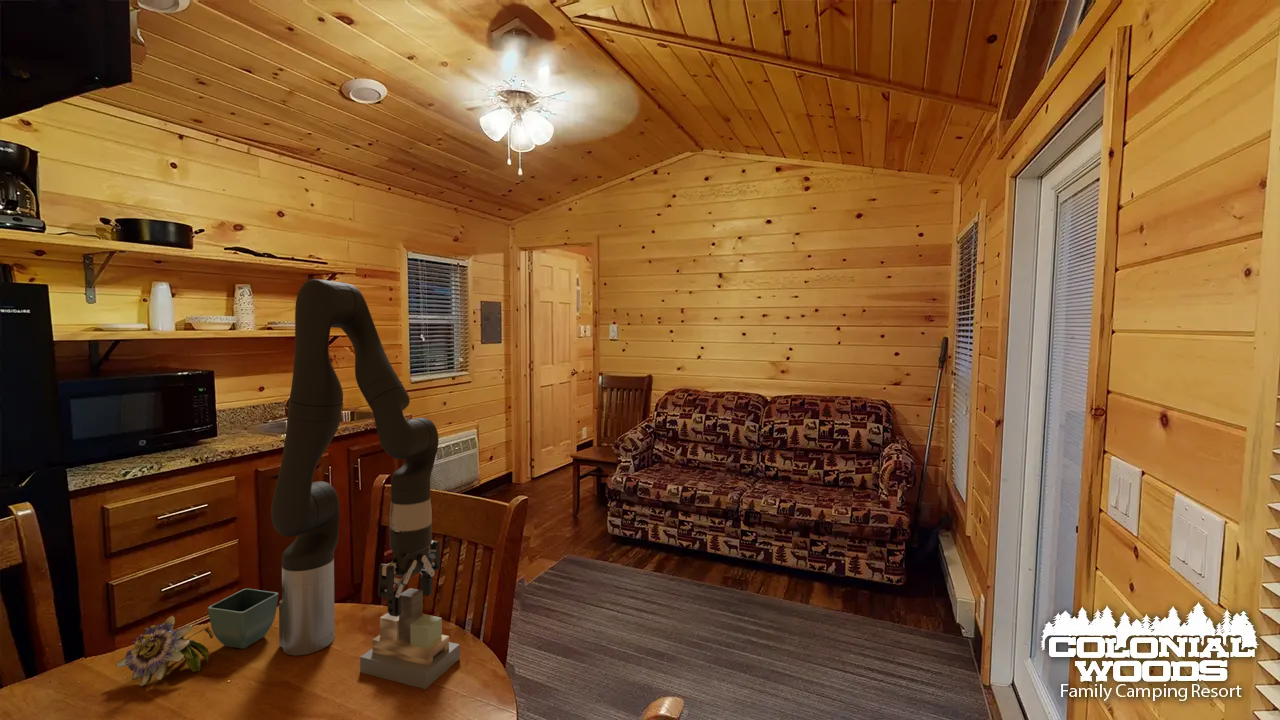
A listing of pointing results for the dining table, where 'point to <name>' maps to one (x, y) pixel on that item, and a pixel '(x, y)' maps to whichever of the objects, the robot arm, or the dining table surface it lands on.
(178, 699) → the dining table surface
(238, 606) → the flower pot
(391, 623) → the cream block
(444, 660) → the dock
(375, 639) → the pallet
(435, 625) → the green block
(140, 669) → the passion flower
